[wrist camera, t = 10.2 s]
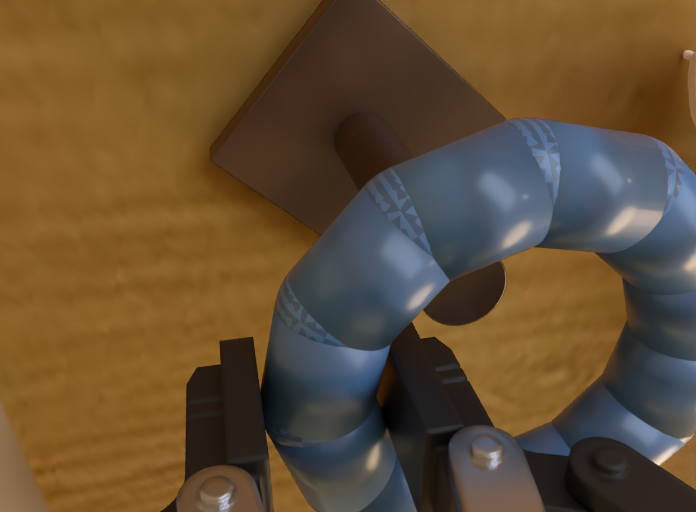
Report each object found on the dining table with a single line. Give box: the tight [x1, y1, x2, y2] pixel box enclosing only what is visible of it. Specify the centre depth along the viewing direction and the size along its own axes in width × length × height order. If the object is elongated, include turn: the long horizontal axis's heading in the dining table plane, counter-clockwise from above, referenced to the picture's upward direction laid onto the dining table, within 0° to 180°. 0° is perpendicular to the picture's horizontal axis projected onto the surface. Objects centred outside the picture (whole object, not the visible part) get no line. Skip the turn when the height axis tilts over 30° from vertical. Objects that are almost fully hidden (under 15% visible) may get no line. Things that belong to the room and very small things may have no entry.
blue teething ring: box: [260, 118, 696, 512], centre depth 15 cm, size 11×11×2 cm
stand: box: [210, 0, 507, 326], centre depth 23 cm, size 9×9×14 cm
